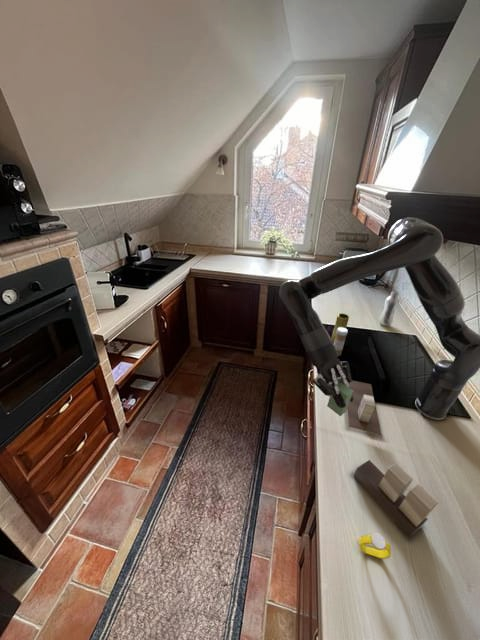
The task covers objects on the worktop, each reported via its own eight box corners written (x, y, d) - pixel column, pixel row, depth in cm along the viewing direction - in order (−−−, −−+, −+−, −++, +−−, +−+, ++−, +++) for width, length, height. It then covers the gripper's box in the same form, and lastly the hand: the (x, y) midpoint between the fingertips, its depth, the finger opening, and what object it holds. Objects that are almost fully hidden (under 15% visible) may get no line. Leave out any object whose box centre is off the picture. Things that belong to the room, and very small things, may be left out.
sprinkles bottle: (333, 349, 123) (340, 325, 117) (342, 353, 121) (349, 329, 114) (329, 353, 120) (335, 329, 114) (338, 357, 118) (345, 333, 111)
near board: (344, 380, 105) (349, 363, 100) (370, 386, 102) (377, 368, 98) (348, 428, 85) (355, 410, 80) (380, 436, 82) (389, 418, 78)
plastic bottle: (388, 328, 141) (401, 296, 131) (376, 324, 145) (387, 292, 135) (392, 324, 145) (404, 292, 135) (379, 320, 149) (390, 288, 139)
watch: (384, 550, 57) (393, 538, 54) (387, 565, 55) (396, 554, 52) (356, 539, 59) (363, 527, 56) (357, 554, 56) (364, 542, 53)
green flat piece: (340, 416, 70) (347, 395, 66) (327, 406, 73) (332, 385, 69) (346, 411, 72) (353, 390, 67) (333, 401, 75) (339, 381, 70)
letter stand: (365, 467, 73) (377, 441, 67) (421, 526, 61) (442, 501, 55) (353, 475, 71) (365, 450, 65) (408, 538, 59) (429, 514, 53)
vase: (331, 335, 134) (337, 312, 127) (343, 338, 132) (349, 314, 125) (330, 341, 129) (336, 317, 122) (343, 344, 127) (350, 319, 120)
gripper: (311, 351, 64) (342, 416, 62) (343, 334, 72) (372, 391, 69) (293, 357, 70) (320, 416, 68) (324, 340, 78) (350, 393, 76)
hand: (346, 403), depth 69 cm, fingers closed on green flat piece, 3 cm apart
